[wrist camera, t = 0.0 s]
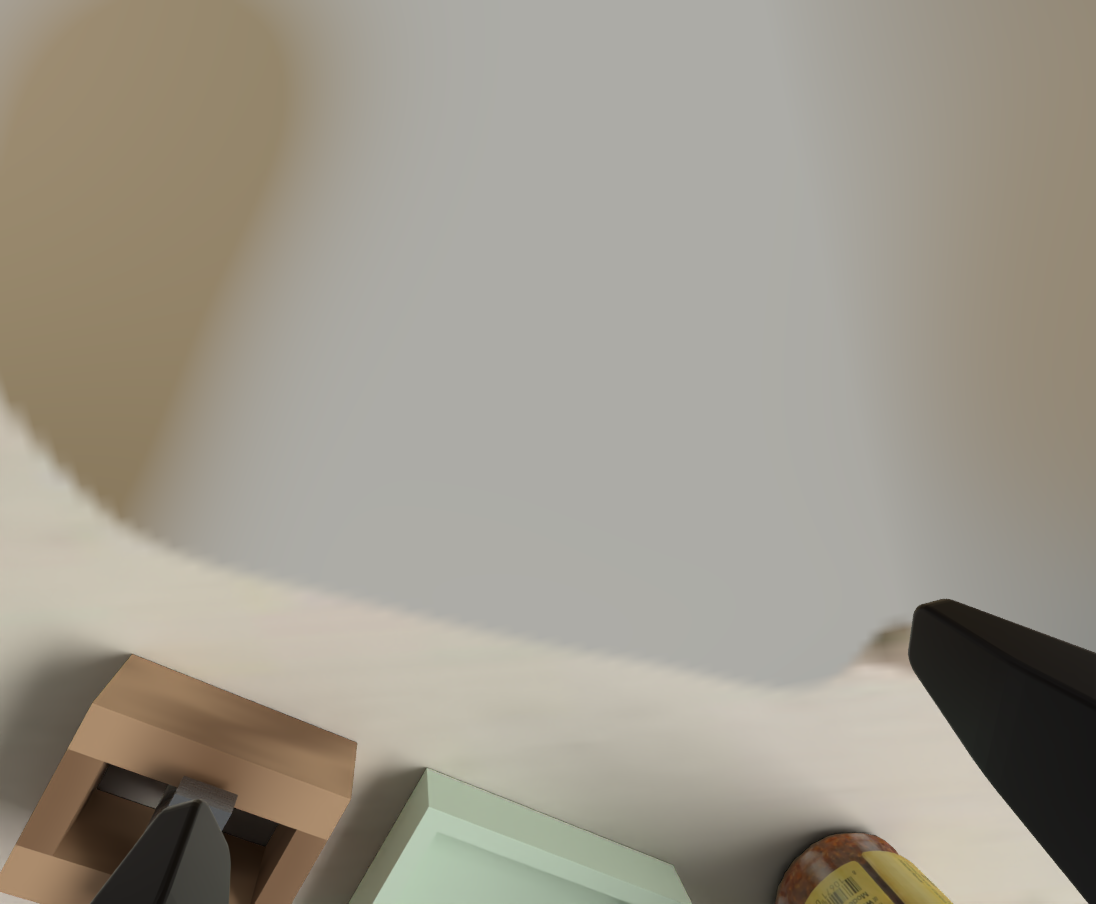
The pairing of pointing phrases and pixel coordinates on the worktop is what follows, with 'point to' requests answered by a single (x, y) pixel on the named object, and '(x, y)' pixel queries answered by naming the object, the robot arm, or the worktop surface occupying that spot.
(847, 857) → the sauce bottle
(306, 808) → the collar
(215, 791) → the grey t-shaped knob
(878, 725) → the worktop surface
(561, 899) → the tray
